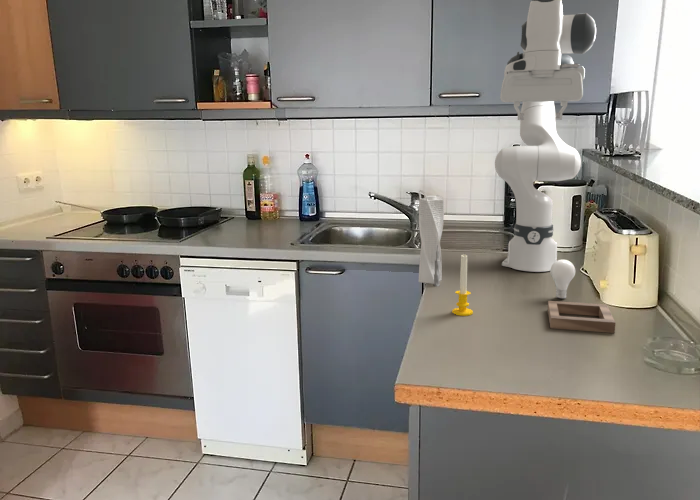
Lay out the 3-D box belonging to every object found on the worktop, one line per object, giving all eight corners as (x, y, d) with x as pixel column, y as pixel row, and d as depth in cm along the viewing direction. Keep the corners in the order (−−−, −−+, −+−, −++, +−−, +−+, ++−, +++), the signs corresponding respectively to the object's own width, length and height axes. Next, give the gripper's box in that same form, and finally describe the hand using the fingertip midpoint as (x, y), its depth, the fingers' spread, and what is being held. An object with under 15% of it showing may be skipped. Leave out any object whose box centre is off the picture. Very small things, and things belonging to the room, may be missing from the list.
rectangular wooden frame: (547, 310, 154) (548, 300, 154) (605, 314, 151) (606, 304, 150) (550, 328, 141) (551, 318, 140) (614, 332, 137) (615, 322, 137)
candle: (476, 315, 151) (478, 254, 148) (456, 316, 150) (458, 256, 147) (468, 308, 156) (469, 250, 153) (449, 310, 155) (450, 251, 152)
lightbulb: (553, 294, 168) (556, 256, 166) (576, 298, 164) (579, 259, 162) (545, 299, 163) (547, 260, 161) (568, 303, 159) (571, 263, 157)
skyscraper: (411, 285, 179) (412, 191, 173) (421, 279, 186) (422, 188, 180) (438, 288, 175) (440, 193, 169) (447, 282, 182) (450, 190, 176)
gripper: (583, 64, 154) (579, 119, 157) (501, 66, 158) (499, 120, 161) (587, 61, 148) (583, 119, 151) (502, 64, 152) (500, 120, 155)
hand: (539, 119), depth 156 cm, fingers open, 8 cm apart
